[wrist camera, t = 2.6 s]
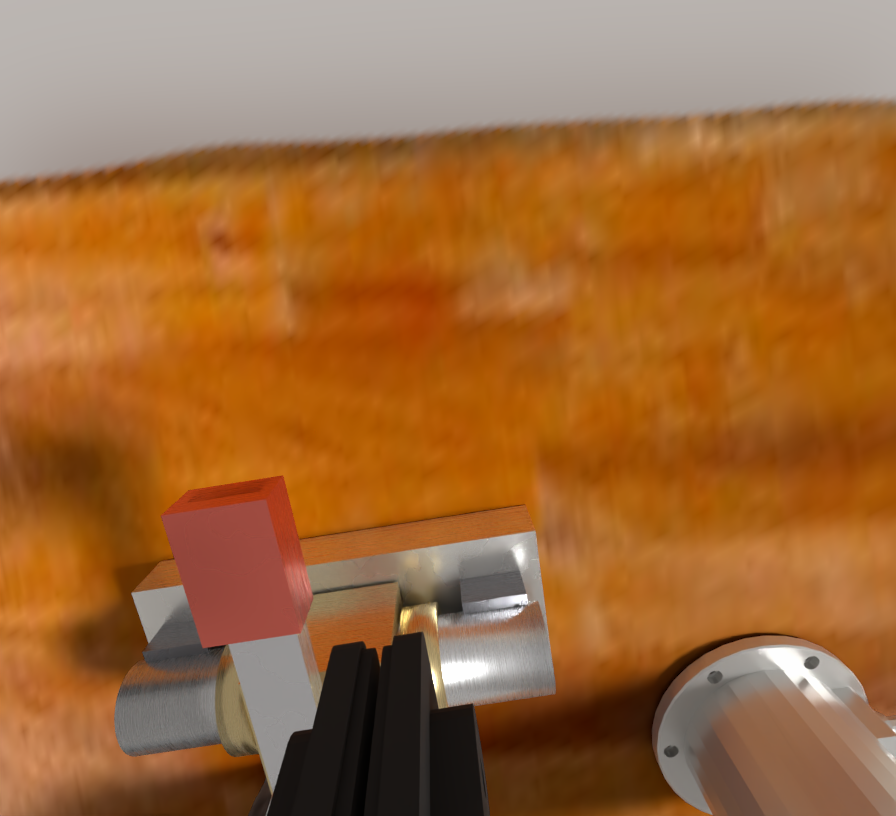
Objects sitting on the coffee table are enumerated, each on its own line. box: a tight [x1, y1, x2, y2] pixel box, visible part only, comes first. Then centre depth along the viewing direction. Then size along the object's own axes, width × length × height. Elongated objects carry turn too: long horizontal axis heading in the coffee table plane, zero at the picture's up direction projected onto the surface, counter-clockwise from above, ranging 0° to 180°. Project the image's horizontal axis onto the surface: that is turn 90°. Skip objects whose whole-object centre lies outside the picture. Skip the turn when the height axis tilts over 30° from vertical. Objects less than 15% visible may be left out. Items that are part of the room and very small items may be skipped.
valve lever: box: [161, 476, 322, 816], centre depth 18 cm, size 14×3×2 cm, turn 9°
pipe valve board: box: [115, 505, 556, 795], centre depth 26 cm, size 20×9×11 cm, turn 99°
